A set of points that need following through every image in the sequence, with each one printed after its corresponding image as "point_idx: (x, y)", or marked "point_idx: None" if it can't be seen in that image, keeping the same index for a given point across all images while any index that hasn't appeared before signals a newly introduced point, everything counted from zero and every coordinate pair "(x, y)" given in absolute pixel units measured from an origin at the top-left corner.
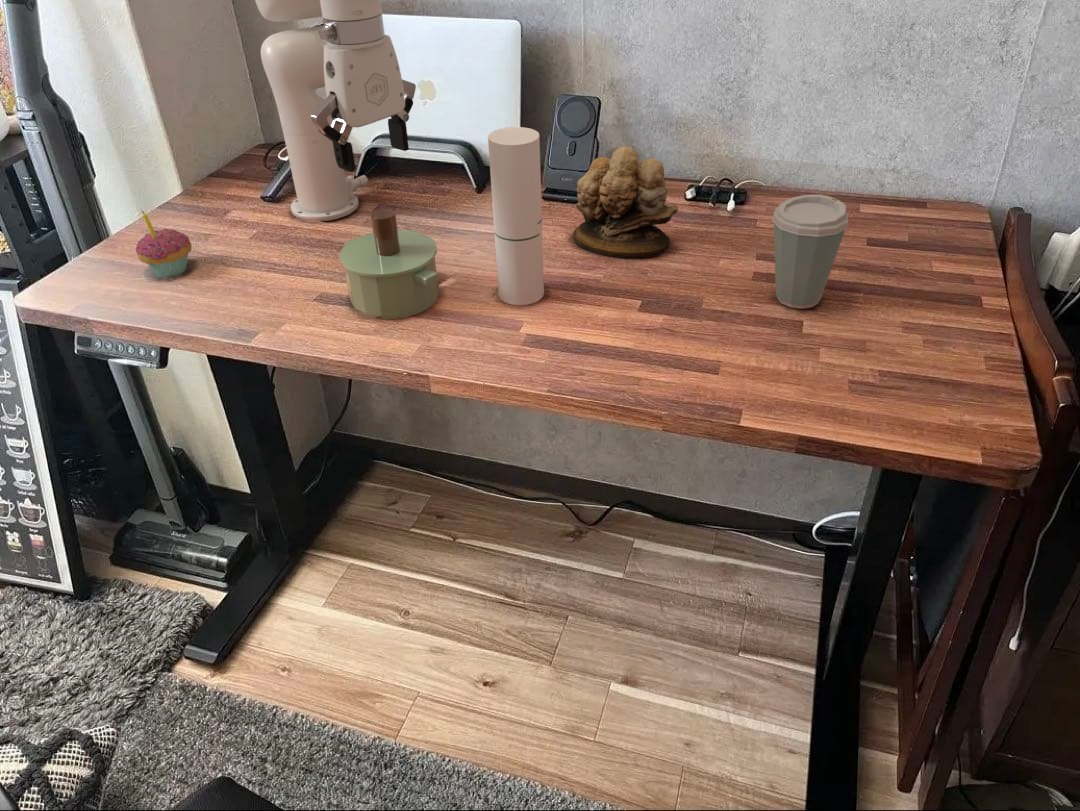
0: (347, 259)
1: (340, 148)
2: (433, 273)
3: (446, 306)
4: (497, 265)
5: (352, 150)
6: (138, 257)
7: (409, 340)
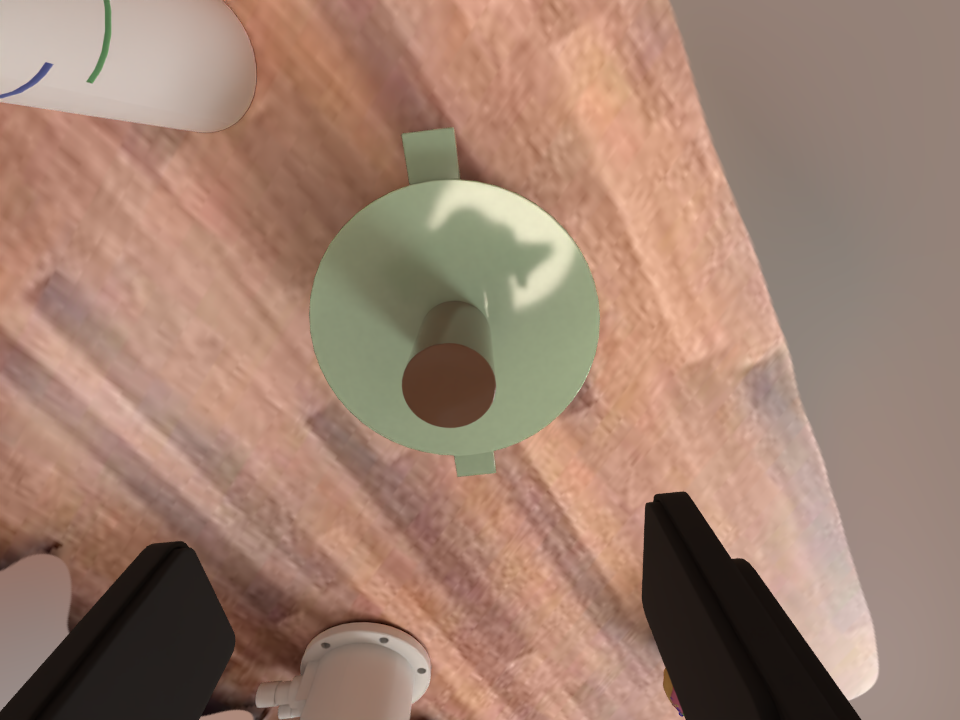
0: (569, 371)
1: (849, 704)
2: (413, 141)
3: (392, 164)
4: (197, 66)
5: (726, 635)
6: None
7: (557, 90)
